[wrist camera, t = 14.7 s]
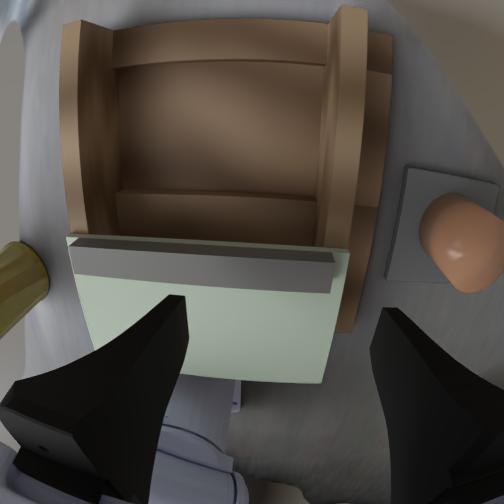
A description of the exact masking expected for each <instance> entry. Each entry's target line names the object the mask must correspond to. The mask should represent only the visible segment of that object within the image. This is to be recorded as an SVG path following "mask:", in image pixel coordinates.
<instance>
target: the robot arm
mask: <svg viewBox="0 0 504 504" xmlns="http://www.w3.org/2000/svg"><path fill="white" fill-rule="evenodd" d="M188 343H189V329H188V319H187V309H186V298H185V296H183V295H172V294H169V295H168V296H167V297H165V298H164V299H163V300H162V301H161V302H159V303H158V304H157V305H156V306H155V307H154V308H153V309H151V310H150V311H149V312H148V313H147V314H146V315H144V316H143V317H142V318H141V319H139V320H138V321H137V322H136V323H135V324H133V325H132V326H131V327H129V328H128V329H127V330H125V331H124V332H123V333H121V334H120V335H119V336H117V337H116V338H114V339H113V340H111V341H110V342H108V343H107V344H105V345H104V346H102V347H100V348H99V349H97V350H95V351H94V352H92V353H90V354H88V355H86V356H84V357H82V358H80V359H78V360H76V361H74V362H72V363H70V364H67V365H65V366H62V367H60V368H58V369H55V370H52V371H49V372H47V373H44V374H40V375H37V376H33V377H30V378H26V379H22V380H18V381H15V382H14V384H13V385H12V387H11V388H10V390H9V391H8V392H7V394H6V395H5V397H4V398H3V400H2V401H1V403H0V420H1V422H2V423H3V425H4V426H5V428H6V429H7V430H8V431H9V433H10V434H11V435H12V436H13V437H14V439H15V440H16V441H17V442H18V443H19V444H20V446H21V448H20V450H19V452H18V453H17V452H16V451H15V450H13V449H12V448H11V447H9V446H7V445H5V444H4V443H2V442H0V504H249V495H248V490H247V487H246V485H245V482H244V479H243V477H242V476H241V475H240V474H239V473H237V472H233V471H232V465H233V458H232V457H229V456H227V455H225V451H226V444H227V437H228V430H229V423H230V416H231V412H239V411H240V408H241V380H235V379H224V378H214V377H204V376H195V375H187V374H180V372H181V369H182V366H183V363H184V360H185V356H186V352H187V348H188ZM370 356H371V363H372V370H373V374H374V378H375V382H376V385H377V389H378V393H379V396H380V400H381V404H382V407H383V411H384V415H385V419H386V424H387V430H388V438H389V447H390V461H391V504H504V390H503V389H500V388H499V387H497V386H495V385H493V384H491V383H489V382H488V381H486V380H484V379H483V378H481V377H479V376H478V375H476V374H475V373H473V372H472V371H470V370H469V369H467V368H466V367H465V366H463V365H462V364H460V363H459V362H458V361H456V360H455V359H454V358H453V357H451V356H450V355H449V354H448V353H447V352H445V351H444V350H443V349H442V348H441V347H440V346H438V345H437V344H436V343H435V342H434V341H433V340H432V339H431V338H430V337H429V336H427V335H426V334H425V333H424V332H423V331H422V330H421V329H420V328H419V327H418V326H417V325H416V324H415V323H414V322H413V321H412V320H411V319H410V318H408V317H407V316H406V315H405V314H404V313H403V312H402V311H401V310H399V309H398V308H386V307H383V308H382V311H381V314H380V318H379V321H378V324H377V327H376V330H375V333H374V337H373V340H372V343H371V346H370Z"/></svg>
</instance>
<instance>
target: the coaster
mask: <svg viewBox="0 0 504 504" xmlns="http://www.w3.org/2000/svg"><path fill="white" fill-rule="evenodd" d="M499 187H500V186H499V185H497V184H495V183H491V182H486V181H482V180H477V179H473V178H468V177H463V176H458V175H453V174H448V173H443V172H437V171H432V170H426V169H420V168H414V167H407V166H405V170H404V177H403V184H402V190H401V196H400V202H399V208H398V213H397V219H396V224H395V229H394V234H393V239H392V244H391V248H390V253H389V257H388V262H387V266H386V270H385V274H384V278H385V279H386V281H403V282H431V283H451V282H450V281H449V280H448V278H447V277H446V276H445V275H444V274H443V272H442V271H441V270H440V269H439V268H438V267H437V265H436V264H435V263H434V262H433V261H432V260H431V258H430V257H429V256H428V255H427V254H426V253H425V251H424V250H423V248H422V246H421V244H420V240H419V225H420V221H421V218H422V216H423V214H424V212H425V210H426V208H427V207H428V206H429V205H430V204H431V203H432V202H433V201H434V200H435V199H436V198H438V197H439V196H442V195H444V194H447V193H458V194H461V195H463V196H465V197H467V198H468V199H470V200H472V201H473V202H475V203H476V204H478V205H480V206H481V207H483V208H484V209H486V210H488V211H489V212H491V213H492V214H494V211H495V206H496V202H497V197H498V192H499Z"/></svg>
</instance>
